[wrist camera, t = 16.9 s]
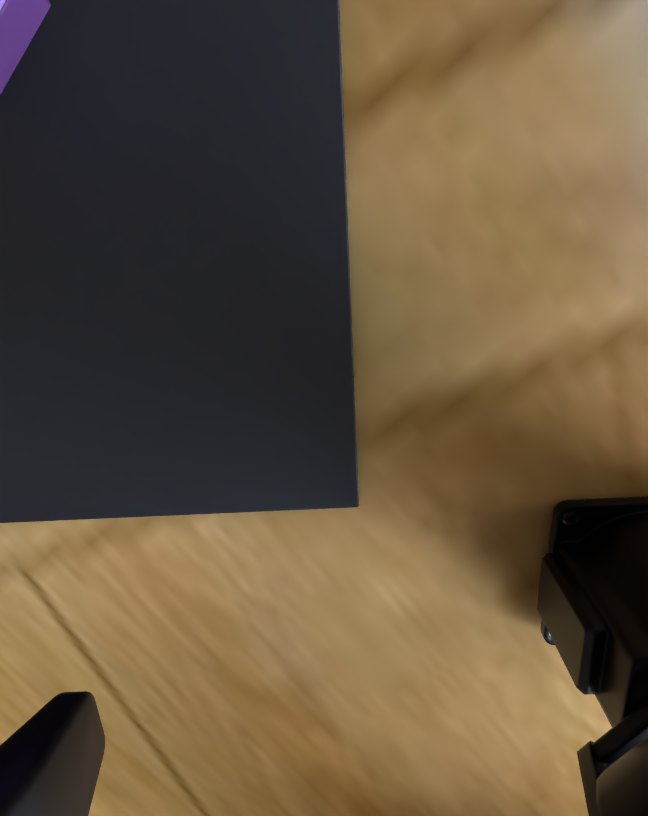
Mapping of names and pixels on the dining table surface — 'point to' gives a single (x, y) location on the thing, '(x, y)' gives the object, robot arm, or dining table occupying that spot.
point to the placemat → (175, 263)
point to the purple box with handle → (17, 32)
